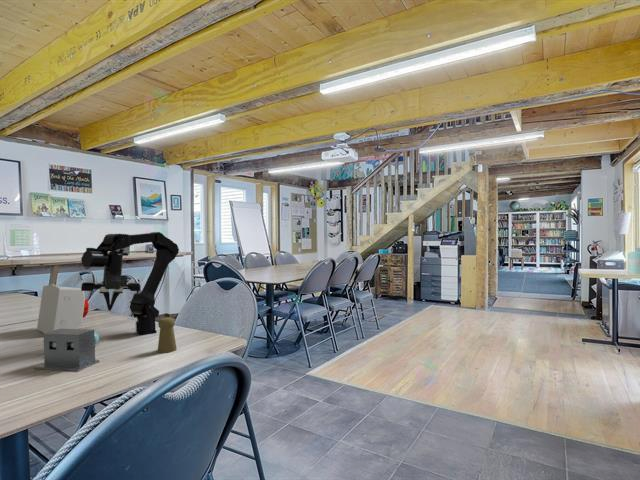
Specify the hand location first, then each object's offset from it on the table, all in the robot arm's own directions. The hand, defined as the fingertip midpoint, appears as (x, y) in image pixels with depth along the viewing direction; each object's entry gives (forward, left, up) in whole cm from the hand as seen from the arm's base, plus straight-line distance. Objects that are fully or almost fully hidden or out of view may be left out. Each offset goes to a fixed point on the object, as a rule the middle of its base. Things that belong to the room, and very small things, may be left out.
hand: (109, 310), depth 137 cm
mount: (+13, +19, -12) cm, 26 cm away
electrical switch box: (+13, -34, -12) cm, 38 cm away
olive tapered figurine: (-14, +23, -12) cm, 30 cm away
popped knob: (+9, +20, -8) cm, 23 cm away
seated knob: (+14, +16, -8) cm, 22 cm away
